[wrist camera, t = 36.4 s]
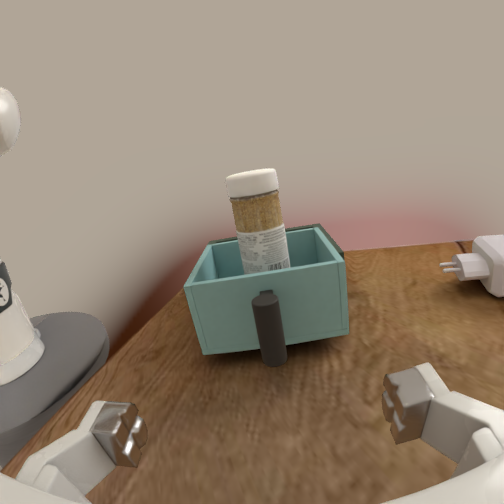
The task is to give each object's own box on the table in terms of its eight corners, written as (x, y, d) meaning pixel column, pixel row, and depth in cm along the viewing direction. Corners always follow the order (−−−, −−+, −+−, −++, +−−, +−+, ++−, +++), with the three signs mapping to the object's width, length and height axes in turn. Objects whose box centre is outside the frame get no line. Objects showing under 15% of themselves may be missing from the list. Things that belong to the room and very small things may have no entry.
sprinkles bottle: (284, 294, 34) (264, 167, 30) (304, 310, 30) (284, 166, 26) (244, 307, 33) (219, 176, 29) (259, 325, 28) (231, 176, 25)
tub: (194, 387, 22) (168, 312, 20) (219, 297, 38) (207, 244, 36) (362, 364, 21) (361, 283, 19) (324, 281, 37) (318, 226, 35)
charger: (432, 272, 35) (525, 263, 30) (449, 307, 27) (556, 293, 22) (432, 236, 34) (528, 229, 29) (452, 263, 26) (563, 253, 21)
